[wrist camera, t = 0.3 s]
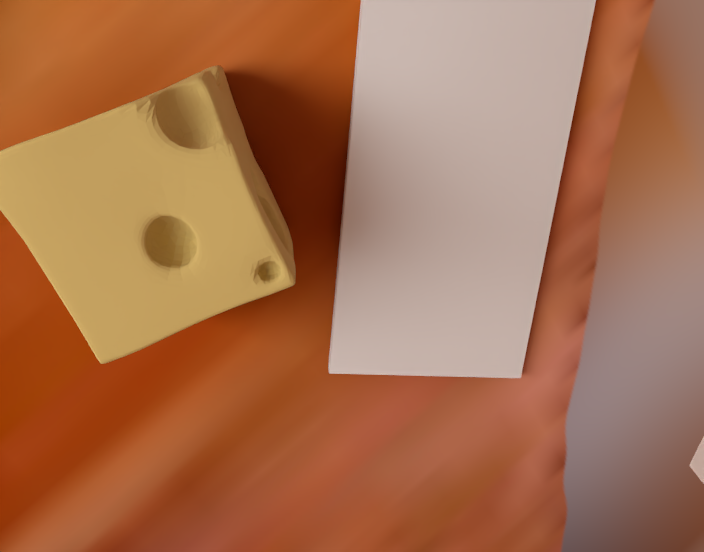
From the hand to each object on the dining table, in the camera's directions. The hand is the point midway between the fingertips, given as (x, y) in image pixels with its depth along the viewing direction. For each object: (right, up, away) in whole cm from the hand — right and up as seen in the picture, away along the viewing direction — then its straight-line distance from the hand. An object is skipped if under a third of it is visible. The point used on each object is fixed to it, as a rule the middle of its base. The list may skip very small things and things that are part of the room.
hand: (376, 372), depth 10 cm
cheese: (-10, +7, +24) cm, 27 cm away
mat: (+6, +8, +26) cm, 27 cm away
